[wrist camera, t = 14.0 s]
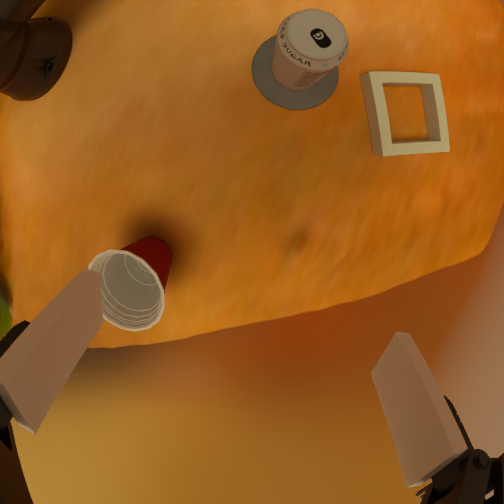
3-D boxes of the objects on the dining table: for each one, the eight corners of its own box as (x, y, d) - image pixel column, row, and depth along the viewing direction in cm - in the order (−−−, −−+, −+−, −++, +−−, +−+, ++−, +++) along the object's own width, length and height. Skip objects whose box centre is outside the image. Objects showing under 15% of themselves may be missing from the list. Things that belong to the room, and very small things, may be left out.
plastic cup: (180, 213, 39) (150, 247, 28) (194, 281, 44) (174, 331, 33) (114, 223, 40) (71, 256, 29) (132, 285, 44) (101, 330, 34)
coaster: (244, 40, 30) (244, 39, 29) (327, 30, 28) (328, 29, 28) (261, 116, 34) (261, 116, 33) (344, 105, 33) (345, 104, 32)
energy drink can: (301, 41, 29) (324, -7, 15) (328, 77, 31) (368, 49, 17) (262, 63, 30) (262, 21, 17) (289, 99, 32) (308, 79, 19)
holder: (359, 75, 31) (368, 71, 28) (426, 77, 30) (438, 74, 26) (373, 153, 35) (383, 156, 32) (436, 148, 34) (449, 151, 31)
